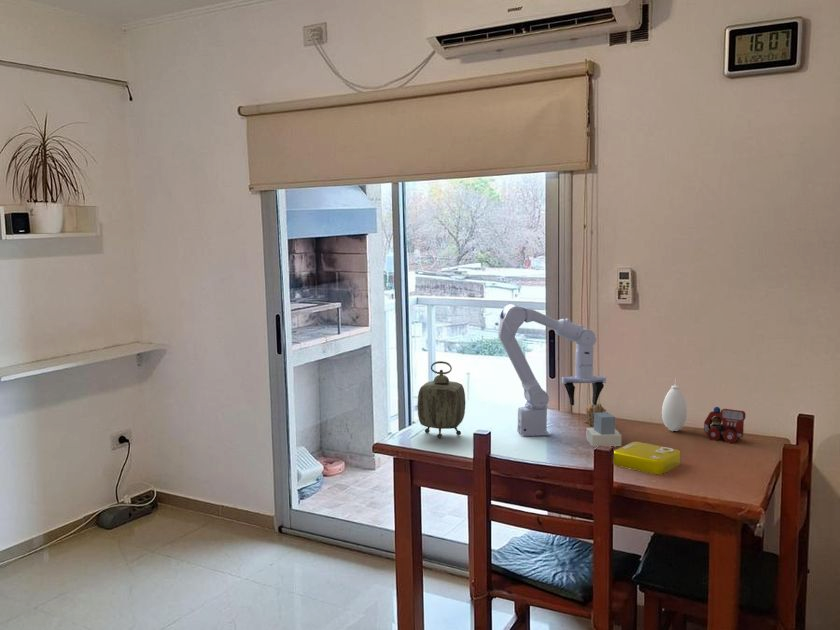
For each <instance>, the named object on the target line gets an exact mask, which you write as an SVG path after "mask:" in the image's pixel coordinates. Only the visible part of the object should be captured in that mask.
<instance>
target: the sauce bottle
mask: <svg viewBox="0 0 840 630" xmlns="http://www.w3.org/2000/svg"><path fill="white" fill-rule="evenodd" d="M687 416H688V407H687V402H686V399H685V396H684V394H683V391H682V390H681V389H680V386H679V385H677V379H676V377H675V379H674V384H673V385H671V386H670V389H669V391H667V393H666V395H665V397H664V400H663V402H662V407H661V417H662V421H663V424H664V426H665V427H666V428H667V429H668V431H671V432H673V431H676V432H677V431H680V430H681V429H682V428H683V427H684V425H685V423H686V421H687Z"/></svg>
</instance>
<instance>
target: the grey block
mask: <svg viewBox="0 0 840 630" xmlns="http://www.w3.org/2000/svg"><path fill="white" fill-rule="evenodd" d="M593 428H594V430H595V431H597V432H598V433H600V434H601V435H603V434H615V429H616V416H614V415H613V414H611V413H609V412H607V411H606V412H601V413H594V421H593Z"/></svg>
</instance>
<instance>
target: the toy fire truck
mask: <svg viewBox="0 0 840 630" xmlns="http://www.w3.org/2000/svg"><path fill="white" fill-rule="evenodd" d="M745 419H746V412H745V411H744V410H739V409H733V408H722V409H721V408H720V407H718V406H715V407H714V408H713V411H710V412H709V414H708V415H707V417H706V419H705V420H704V422H703V423H704V424H703V431H704V433H705V434H707V437H708V438H709V440H711V439H712V441H717V440H719V439H721V437H722V438H723V440H724V441H725V442H726V443H728V442H732V443H731V444H733V443H735V442H736V441H737V440H739V439H741V438H743V437H744V432H745V431H744V428H745V426H744V422H745Z"/></svg>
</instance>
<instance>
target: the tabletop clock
mask: <svg viewBox="0 0 840 630" xmlns="http://www.w3.org/2000/svg"><path fill="white" fill-rule="evenodd" d="M436 364H443V365H447V366H448V367H450V369H449V370H448V371H444V370H443V369H440V370H439V371H436V370H434V369H433V367H434V366H435V365H436ZM430 370H431V371H432V372H433V373H435V374H437V375H436V376H435V377H433V378H434V379H433V380H431V381H427V382H425V383H423V384H422V386H421V387H420V388H419V391H418V395H417V405H416V406H417V407H416V408H417V416H418V420H419V423H420V425H421V426H424V427H427V428H425V429H424V432H425V434H428V433H430V432H431V430H430V429H431V428H433V429H438V433H437V435H436V436H437V439H442V437H443V435H442V434H443V433H442V430H443V429H446V430H447V429H448V430H449V429H454V430H455V433H456V435H457V436H461V435H462V432H461V431H460V430H459V429H458V428H457V427H459V426H460V424H461V423H462V422H463V420H464V418H465V414H466V393H465V389H464V386H463V384H461V383H459V382H457V381H452V380H451V381H450V379H449V378H448V376H446V375H447V374H449V373H451V372H452V370H453V367H452V365H451V364H450V363H449V362H447V361H441V360H439V361H434V362H433V363H432V364H431V366H430Z"/></svg>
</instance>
